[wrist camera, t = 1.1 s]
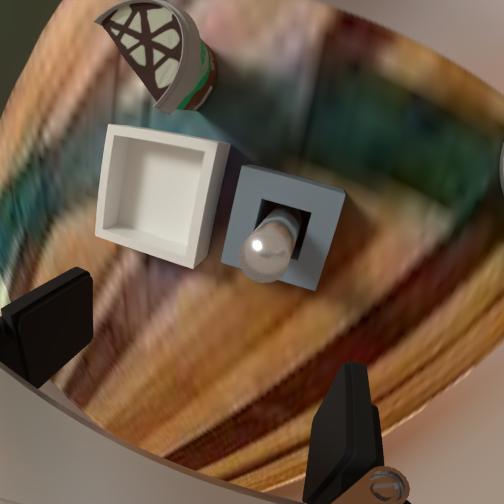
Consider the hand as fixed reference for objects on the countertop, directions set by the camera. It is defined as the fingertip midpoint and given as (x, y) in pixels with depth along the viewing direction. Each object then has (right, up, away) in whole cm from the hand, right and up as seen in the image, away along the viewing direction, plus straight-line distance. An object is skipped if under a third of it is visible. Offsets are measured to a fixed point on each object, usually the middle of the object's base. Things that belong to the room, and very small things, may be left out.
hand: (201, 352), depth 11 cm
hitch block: (+5, +6, +21) cm, 23 cm away
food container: (-4, +23, +18) cm, 29 cm away
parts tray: (-7, +10, +23) cm, 26 cm away
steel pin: (+5, +6, +21) cm, 23 cm away
